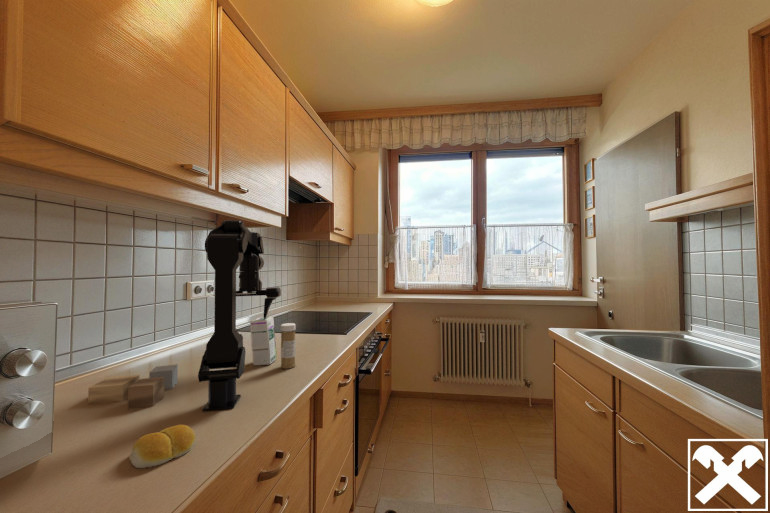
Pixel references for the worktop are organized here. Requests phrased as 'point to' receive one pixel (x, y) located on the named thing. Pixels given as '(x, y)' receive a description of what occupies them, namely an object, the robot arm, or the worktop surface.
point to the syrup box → (263, 341)
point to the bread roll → (162, 446)
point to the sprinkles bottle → (288, 345)
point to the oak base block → (111, 389)
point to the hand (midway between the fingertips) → (249, 320)
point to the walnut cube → (145, 392)
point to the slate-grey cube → (166, 375)
